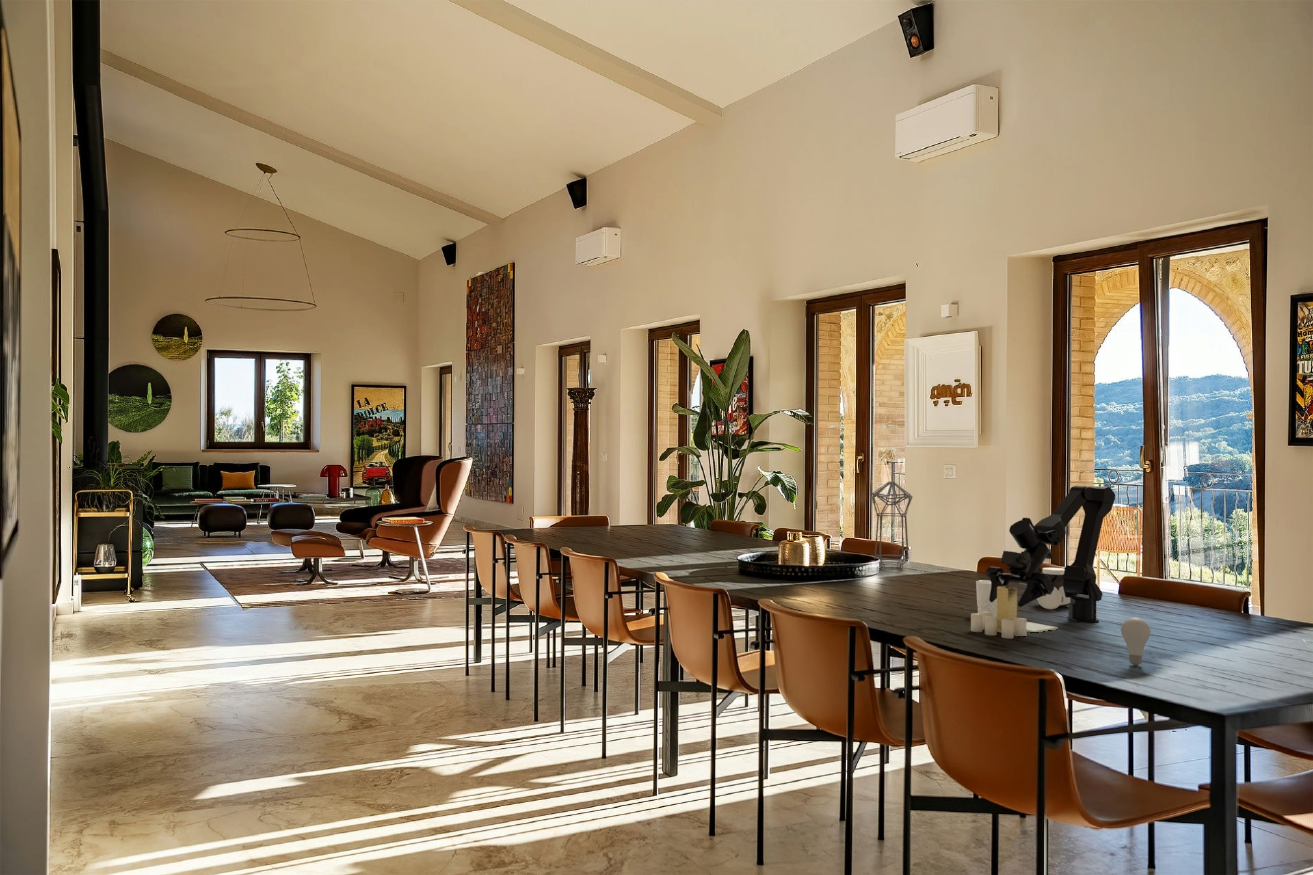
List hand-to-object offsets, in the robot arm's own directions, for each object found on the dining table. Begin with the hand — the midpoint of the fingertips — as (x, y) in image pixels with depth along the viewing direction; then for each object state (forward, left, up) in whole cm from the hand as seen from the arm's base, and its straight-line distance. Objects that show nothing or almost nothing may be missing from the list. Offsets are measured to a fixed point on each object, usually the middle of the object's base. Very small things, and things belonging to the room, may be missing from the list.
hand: (1004, 603), depth 270 cm
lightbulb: (-14, +41, -8) cm, 43 cm away
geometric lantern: (-8, -130, -8) cm, 131 cm away
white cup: (-6, -24, -8) cm, 26 cm away
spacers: (+3, +1, -8) cm, 8 cm away
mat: (-9, -5, -8) cm, 13 cm away
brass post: (-1, 0, -8) cm, 8 cm away
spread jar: (-32, -39, -8) cm, 51 cm away
